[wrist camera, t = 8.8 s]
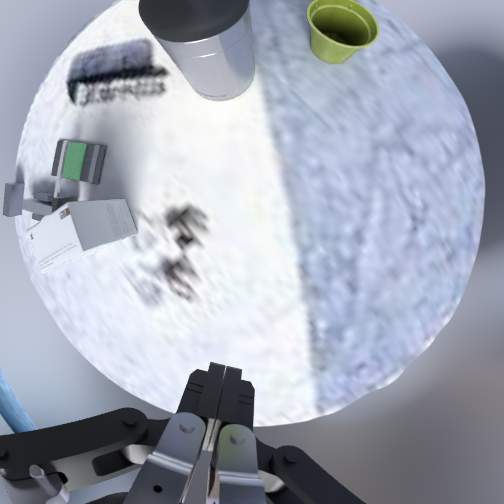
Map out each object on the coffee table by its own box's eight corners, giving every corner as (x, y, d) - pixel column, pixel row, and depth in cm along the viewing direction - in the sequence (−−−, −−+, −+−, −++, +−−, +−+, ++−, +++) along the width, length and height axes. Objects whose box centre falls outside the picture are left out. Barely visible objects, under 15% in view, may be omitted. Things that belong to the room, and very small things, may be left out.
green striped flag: (25, 139, 35) (13, 137, 31) (106, 145, 35) (94, 143, 32) (15, 212, 38) (2, 214, 35) (91, 236, 39) (78, 240, 35)
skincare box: (100, 251, 39) (39, 279, 25) (87, 216, 38) (22, 231, 23) (141, 232, 38) (83, 256, 24) (127, 194, 37) (64, 200, 23)
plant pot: (286, 36, 31) (291, 4, 22) (335, 19, 30) (349, -11, 21) (322, 82, 32) (337, 56, 24) (370, 62, 31) (393, 38, 23)
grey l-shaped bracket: (41, 139, 34) (22, 137, 29) (87, 143, 35) (68, 139, 29) (30, 218, 38) (11, 223, 32) (73, 232, 38) (54, 238, 33)
